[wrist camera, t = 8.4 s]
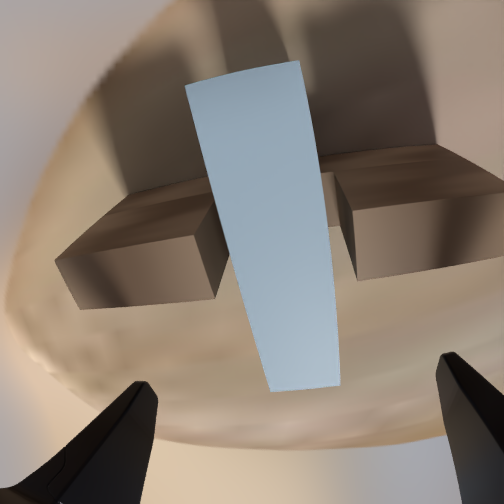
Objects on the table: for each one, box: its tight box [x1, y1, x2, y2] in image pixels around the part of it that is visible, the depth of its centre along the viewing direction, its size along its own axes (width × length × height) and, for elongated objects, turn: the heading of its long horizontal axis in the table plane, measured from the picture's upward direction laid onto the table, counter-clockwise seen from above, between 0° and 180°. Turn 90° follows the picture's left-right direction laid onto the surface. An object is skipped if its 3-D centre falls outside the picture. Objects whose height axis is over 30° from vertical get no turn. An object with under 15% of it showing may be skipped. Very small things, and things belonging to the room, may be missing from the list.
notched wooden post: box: [54, 144, 504, 310], centre depth 11 cm, size 14×2×6 cm, turn 102°
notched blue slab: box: [185, 60, 340, 392], centre depth 11 cm, size 2×10×6 cm, turn 12°
